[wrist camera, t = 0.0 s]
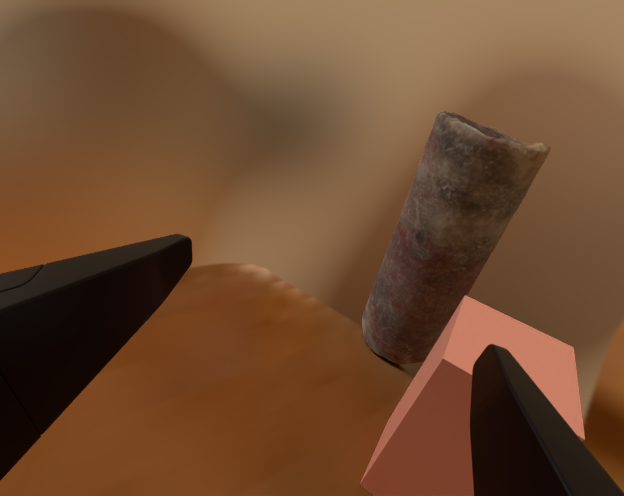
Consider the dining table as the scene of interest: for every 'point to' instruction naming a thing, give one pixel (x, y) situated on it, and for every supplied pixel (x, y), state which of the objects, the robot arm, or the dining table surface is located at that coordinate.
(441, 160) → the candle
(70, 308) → the robot arm
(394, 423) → the top brick
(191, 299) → the dining table surface
